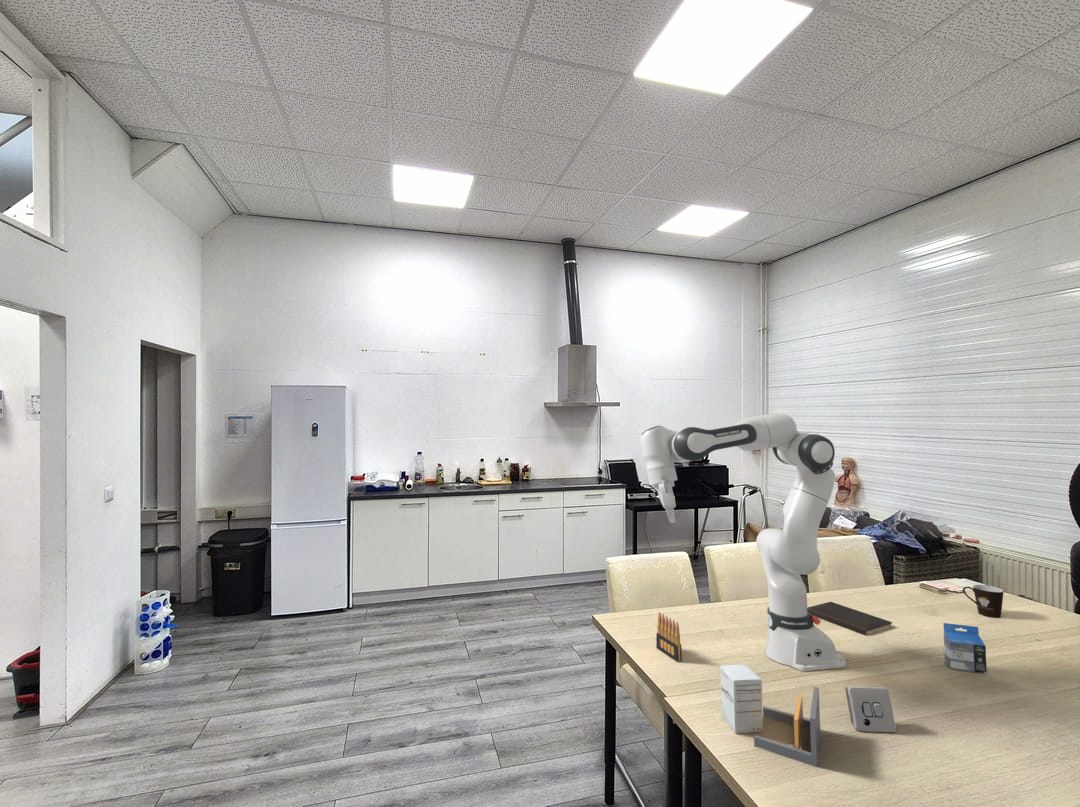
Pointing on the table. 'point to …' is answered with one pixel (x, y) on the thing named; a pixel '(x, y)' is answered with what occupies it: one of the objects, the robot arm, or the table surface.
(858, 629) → the hardcover book
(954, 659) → the ink cartridge box
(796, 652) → the robot arm
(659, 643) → the ammunition clip
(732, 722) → the supplement box
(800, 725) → the orange flat slab
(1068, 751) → the table surface
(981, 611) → the coffee mug
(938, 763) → the table surface
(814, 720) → the holder
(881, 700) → the electrical switch
